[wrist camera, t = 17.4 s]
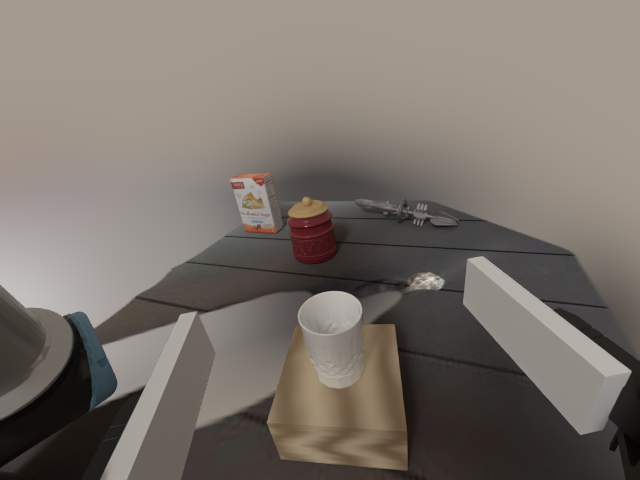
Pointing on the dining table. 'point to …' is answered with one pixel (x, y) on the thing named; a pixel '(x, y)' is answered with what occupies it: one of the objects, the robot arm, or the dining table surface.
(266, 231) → the cracker box
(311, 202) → the canister
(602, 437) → the dining table surface
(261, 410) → the dining table surface
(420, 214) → the spaceship
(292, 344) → the riser block
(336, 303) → the white cup
